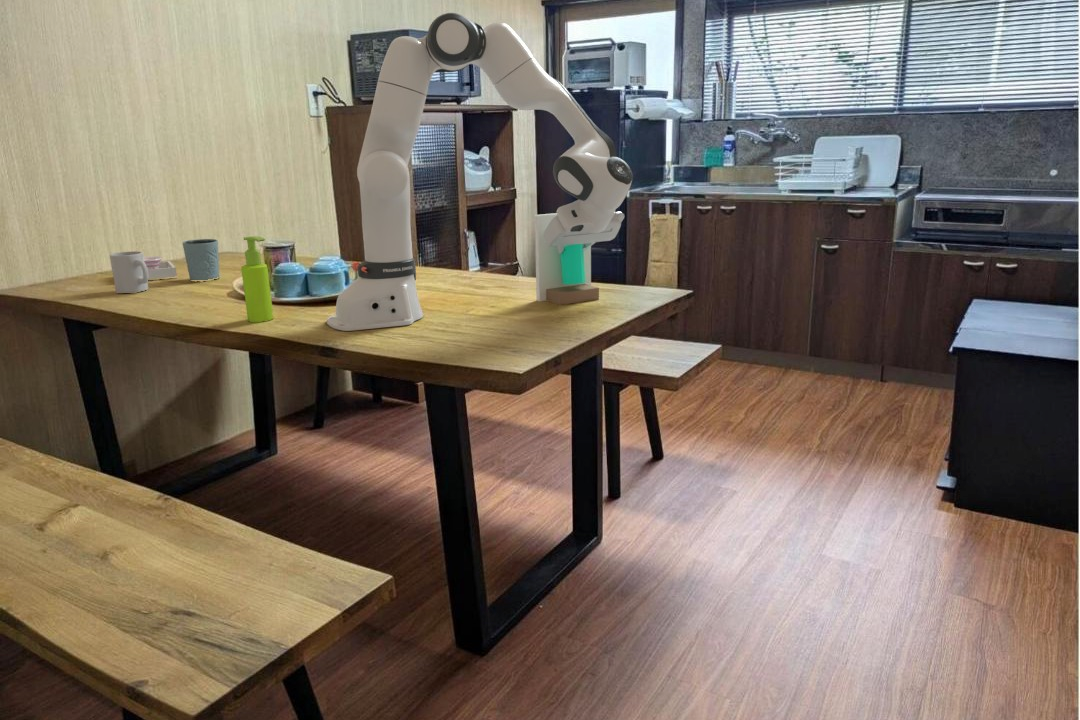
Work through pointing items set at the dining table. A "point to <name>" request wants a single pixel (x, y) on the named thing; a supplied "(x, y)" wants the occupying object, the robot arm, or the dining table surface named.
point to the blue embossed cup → (202, 258)
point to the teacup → (152, 262)
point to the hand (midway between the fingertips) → (571, 250)
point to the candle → (573, 264)
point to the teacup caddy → (163, 271)
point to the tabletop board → (558, 271)
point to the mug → (129, 272)
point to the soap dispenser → (256, 284)
